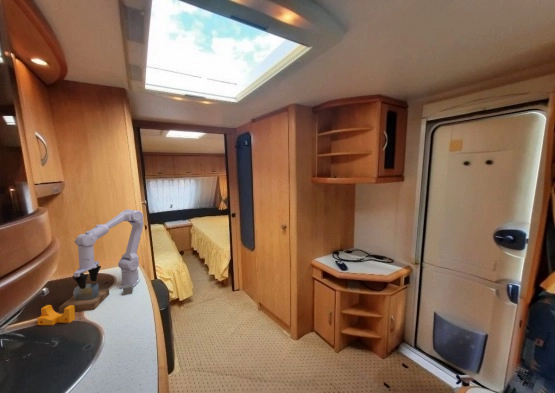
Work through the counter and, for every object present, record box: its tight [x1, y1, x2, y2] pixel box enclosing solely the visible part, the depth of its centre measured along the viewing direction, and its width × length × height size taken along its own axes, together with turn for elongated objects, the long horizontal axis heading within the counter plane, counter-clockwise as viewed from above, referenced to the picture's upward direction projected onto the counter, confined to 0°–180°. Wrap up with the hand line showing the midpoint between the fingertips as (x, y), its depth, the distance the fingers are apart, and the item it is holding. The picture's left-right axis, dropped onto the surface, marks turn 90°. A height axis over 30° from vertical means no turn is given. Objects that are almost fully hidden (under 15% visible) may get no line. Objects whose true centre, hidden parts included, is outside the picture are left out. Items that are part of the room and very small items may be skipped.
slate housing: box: [72, 283, 100, 300], centre depth 110 cm, size 4×9×6 cm, turn 96°
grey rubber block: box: [122, 284, 134, 296], centre depth 121 cm, size 4×4×4 cm
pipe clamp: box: [36, 304, 76, 326], centre depth 96 cm, size 12×4×6 cm, turn 90°
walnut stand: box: [58, 288, 110, 314], centre depth 111 cm, size 14×14×3 cm
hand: (88, 284), depth 111 cm, fingers open, 7 cm apart
